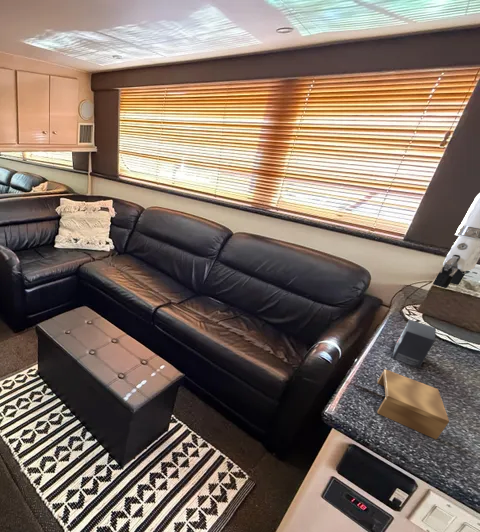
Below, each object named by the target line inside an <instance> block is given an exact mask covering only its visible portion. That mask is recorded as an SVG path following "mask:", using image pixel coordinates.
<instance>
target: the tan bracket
mask: <svg viewBox="0 0 480 532" xmlns="http://www.w3.org/2000/svg"><path fill="white" fill-rule="evenodd" d="M377 385H380V386H382V387H384V395H385V397H384V398H383V400H382V402H381V404H380V406H379V407H378V408H377V414H378V415H380V416H382V417H385V418H386V419H390V420H392V421H394V422H395V423H398V424H400V425H402V426H405V427H407V428H409V429H412V430H414V431H416V432H418V433H421V434H423V435H425V436H427V437H429V438H432V439H434V440H438V438H440V436H441V434H442V433H443V431H444V430H445V428H446V427H447V425H448V424H449V423H450V418H449V416H448V413H447V411H446V408H445V404H444V402H443V399H442V396H441V393H440V391H439V388H436V387H434V386H431V385H428V384H426V383H423V382H420V381H417V380H415V379H412V378H410V377H407V376H404V375H402V374H399V373H396V372H395V371H394V372H393V371H391V370H389V369H386V368H384V369H383V371H382V372H381V375H380V376H379V378H378V380H377Z"/></svg>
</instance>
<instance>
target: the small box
mask: <svg viewBox="0 0 480 532" xmlns="http://www.w3.org/2000/svg"><path fill="white" fill-rule="evenodd" d="M436 330H437V329H436V327H435V326H431V325H428V324H426V323H422V322H419V321H415V320H413V319H408V320H407V322H406V324H405V326H404V328H403V329H402V332H401V334H400V336H399V337H398V340H397V341H396V343H395V345H394V350H393V353H392V358H393V359H395V360H397V361H400V362H402V363H405V364H407V365H410V366H413V367H415V368H419V369H420V368H421V366H422V364H423V363H424V361H425V359H426V357H427V355H428V354H429V352H430V350H431V349H432V347H433V346H434V344H435V342H436V335H437V334H436Z"/></svg>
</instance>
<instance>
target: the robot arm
mask: <svg viewBox="0 0 480 532" xmlns="http://www.w3.org/2000/svg"><path fill="white" fill-rule="evenodd" d="M454 236H457V238H456V240H455V242H453V245H452V246H451V248H450V250H449V251H448V253H447V255H446V256H445V258H444V260H443V263H442V266H443V267H441V269H440V271H439V272H438V273H437V275H436V277H435V279H434V281H433V283H432V284H433V286H437V287H440V288H442V289H443V288H444V289H447V288H448V287H449V286H450V284H453V285H456V286H458V285H460V284H461V282H462V280H463V278H464V277H465V276H466V273H467V271H471V270H474V268H475V267H476V266H477V263H478V262H479V260H480V192H479V193H478V194H476V196H475V197H474V200H473V202H472V203H471V205H470V207H469V208H468V210H467V212H466V214H465V216H464V217H463V219H462V221H461V223H460V225H459V226H458V228H457V230H456V232H455V233H454Z"/></svg>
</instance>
